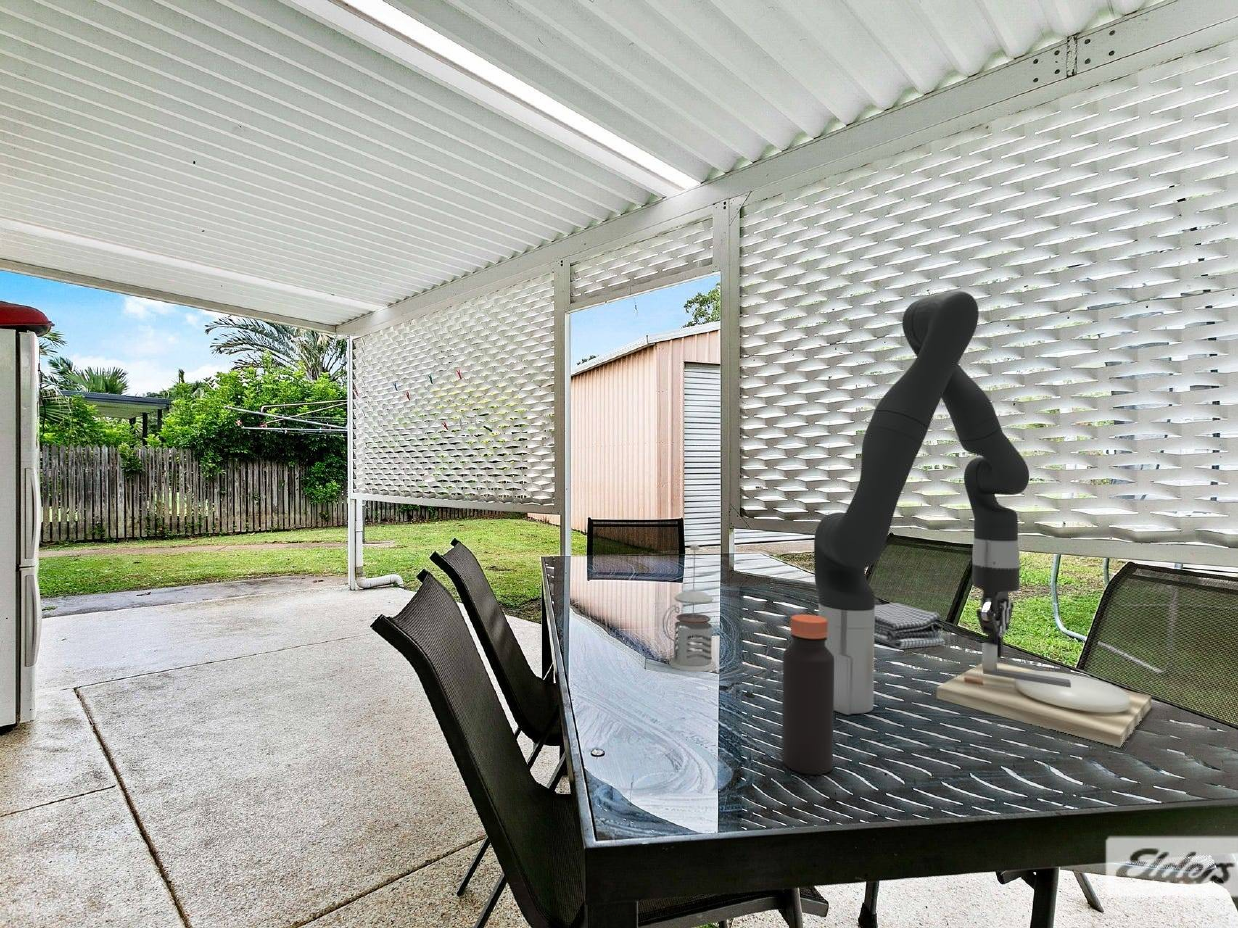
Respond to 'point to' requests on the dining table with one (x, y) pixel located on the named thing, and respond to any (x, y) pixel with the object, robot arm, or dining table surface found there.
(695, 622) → the french press
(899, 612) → the towel
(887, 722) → the dining table surface
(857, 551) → the robot arm
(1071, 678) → the dial
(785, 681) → the bottle
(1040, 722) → the cutting board
